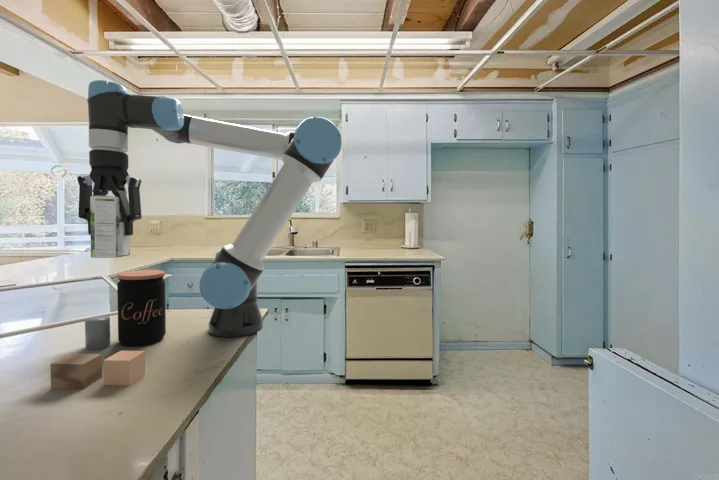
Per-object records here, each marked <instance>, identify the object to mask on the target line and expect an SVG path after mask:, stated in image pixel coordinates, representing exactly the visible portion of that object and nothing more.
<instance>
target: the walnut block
mask: <svg viewBox="0 0 719 480" xmlns="http://www.w3.org/2000/svg"><path fill="white" fill-rule="evenodd" d="M49 364H50V367H49V368H50V389H51V390H80V391H81V390H82V391H84V390H85V389H87V388H88V387H90V386H91V385H92V383H93V384H94V382H95V383H96V382H98V381H100V380H101V379H103V354H102V353H70V354H68V355H66V356H64V357H62V358H59V359H57V360H55V361H53V362H51V363H49ZM97 380H98V381H97ZM89 385H90V386H89Z"/></svg>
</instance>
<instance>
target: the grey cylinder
mask: <svg viewBox="0 0 719 480" xmlns="http://www.w3.org/2000/svg"><path fill="white" fill-rule="evenodd" d="M84 335H85V337H84V338H85V339H84V340H85V341H84V342H85V343H84V344H85V351H86V350H87V351H97V350H98V351H99V350H103V349H106V348H109V347H110V346H111V317H110V316H105V315H101V316H93V317H89V318H86V319H85V320H84Z"/></svg>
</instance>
